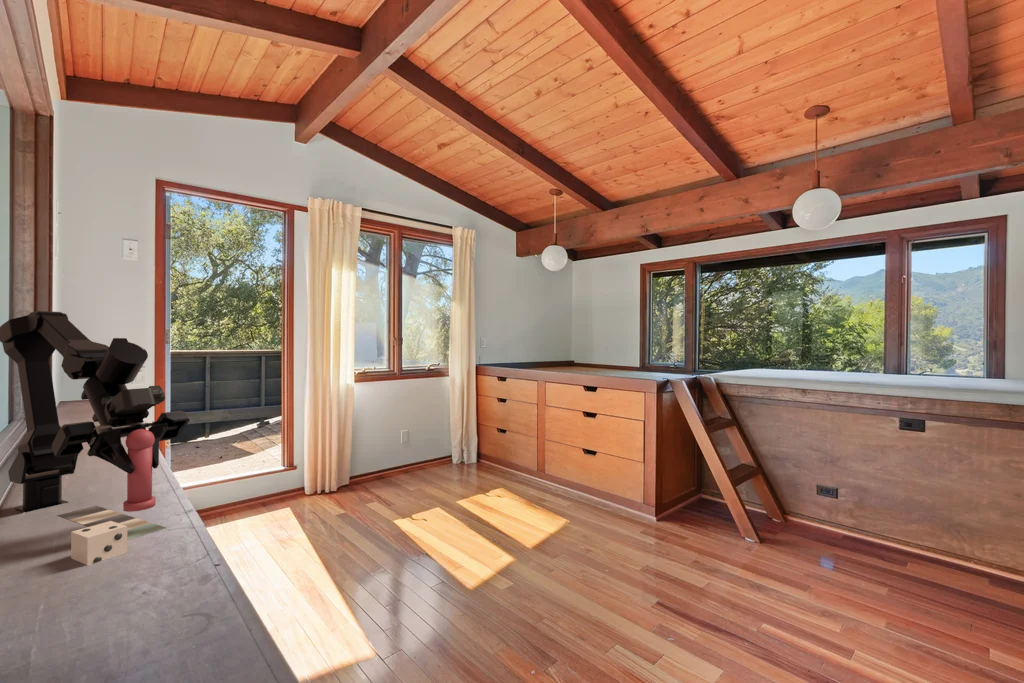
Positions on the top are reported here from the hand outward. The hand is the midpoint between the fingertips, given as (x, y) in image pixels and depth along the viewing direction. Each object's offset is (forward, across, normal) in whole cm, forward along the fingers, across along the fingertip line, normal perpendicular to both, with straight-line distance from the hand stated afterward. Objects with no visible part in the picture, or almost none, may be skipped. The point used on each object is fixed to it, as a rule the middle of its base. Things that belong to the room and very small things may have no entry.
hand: (144, 469), depth 82 cm
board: (0, 0, +16) cm, 16 cm away
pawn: (+4, 0, +6) cm, 7 cm away
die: (+11, -8, +6) cm, 15 cm away
